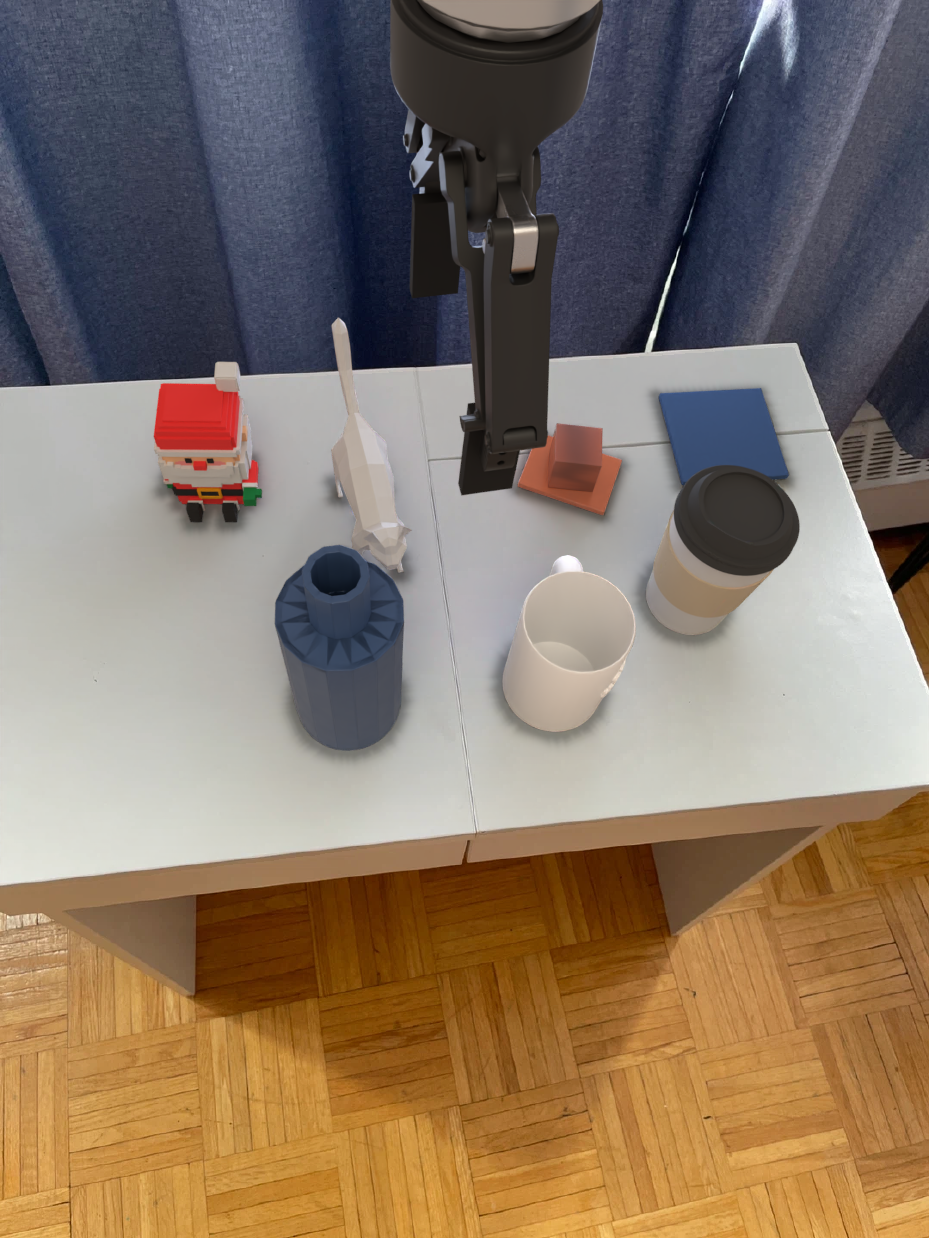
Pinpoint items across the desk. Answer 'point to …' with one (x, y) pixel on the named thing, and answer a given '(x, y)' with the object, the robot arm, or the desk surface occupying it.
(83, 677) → the desk surface
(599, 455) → the terracotta block
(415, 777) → the desk surface
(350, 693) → the blue bottle
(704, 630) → the coffee cup
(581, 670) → the mug
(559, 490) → the orange flat plate
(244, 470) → the figurine
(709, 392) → the blue mat
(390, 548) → the cat figurine
